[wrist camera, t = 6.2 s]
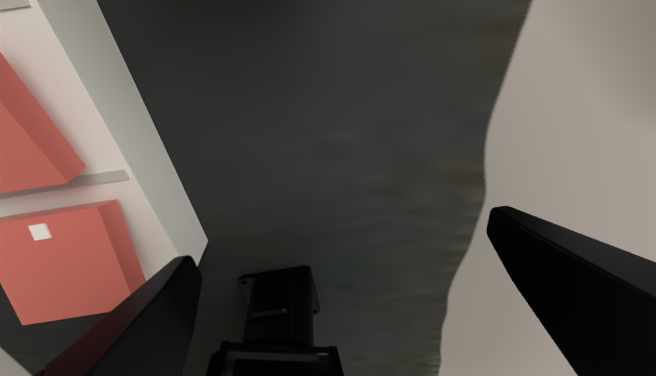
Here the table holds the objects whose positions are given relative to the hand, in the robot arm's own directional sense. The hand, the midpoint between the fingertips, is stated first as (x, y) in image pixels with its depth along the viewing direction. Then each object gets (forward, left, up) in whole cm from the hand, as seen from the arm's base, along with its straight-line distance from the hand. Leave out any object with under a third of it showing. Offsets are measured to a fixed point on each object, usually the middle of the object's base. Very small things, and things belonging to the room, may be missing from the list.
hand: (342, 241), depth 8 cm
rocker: (-4, +15, -6) cm, 17 cm away
